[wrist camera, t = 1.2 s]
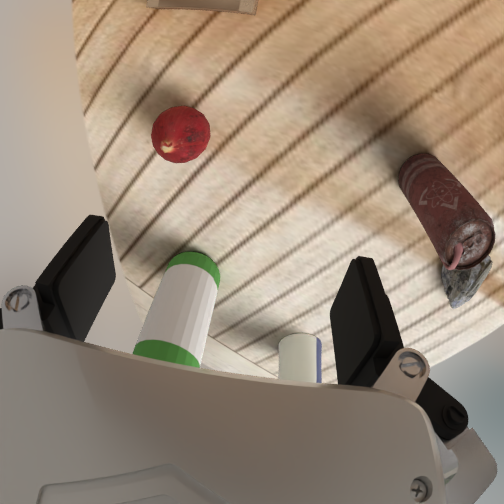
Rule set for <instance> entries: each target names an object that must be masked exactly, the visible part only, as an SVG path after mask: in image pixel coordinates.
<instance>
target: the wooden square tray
mask: <svg viewBox="0 0 504 504" xmlns="http://www.w3.org/2000/svg"><path fill="white" fill-rule="evenodd" d="M257 4H258V0H147V6H146V7H148V8H155V9H191V10H210V11H223V12H233V13H242V14H250V15H255V14H256V9H257Z"/></svg>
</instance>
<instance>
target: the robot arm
mask: <svg viewBox="0 0 504 504" xmlns="http://www.w3.org/2000/svg"><path fill="white" fill-rule="evenodd" d="M115 277H116V273H115V267H114V261H113V254H112V248H111V240H110V233H109V225H108V222H107V221H105V219H104V217H102V216H95V215H89V216H88V217H87V218H86V219H85V220H84V221H83V222H82V224H81V225H80V226H79V227H78V228H77V229H76V231H75V232H74V233H73V234H72V236H71V237H70V238H69V239H68V240H67V242H66V243H65V244H64V245H63V247H62V248H61V249H60V250H59V252H58V253H57V254H56V256H55V257H54V258H53V259H52V261H51V262H50V263H49V265H48V266H47V267H46V269H45V270H44V271H43V273H42V274H41V275H40V277H39V278H38V279H37V281H36V282H35V283H36V284H35V286H34V287H33V288H31V287H29V286H23V285H22V286H17V287H15V288H13V289H11V290H10V291H9V292H7V294H6V295H5V296H4V298H3V300H2V308H0V504H474V503H475V502H476V501H477V500H478V499H479V497H480V496H481V495H482V494H483V493H484V491H485V490H486V489H487V488H488V487H489V485H490V484H491V483H492V482H493V481H494V479H495V477H496V475H497V463H496V461H495V459H494V458H493V456H492V455H491V453H490V452H489V450H488V449H487V447H486V446H485V445H484V443H483V442H482V440H481V439H480V438H479V436H478V435H477V433H476V432H475V430H474V429H473V428H471V429H469V428H468V427H467V425H468V415H467V411H466V410H465V408H464V407H463V406H462V404H460V403H459V402H458V401H457V400H456V399H454V398H453V397H452V396H451V395H450V394H448V393H447V392H446V391H445V390H443V389H442V388H441V387H440V386H439V385H437V384H436V383H435V382H434V381H432V380H431V379H430V378H429V377H428V376H429V372H430V368H429V364H428V361H427V360H426V358H425V357H424V356H423V355H422V354H421V353H420V352H419V351H417V350H415V349H412V348H404V346H403V343H402V339H401V336H400V332H399V329H398V326H397V322H396V319H395V316H394V313H393V310H392V307H391V304H390V301H389V298H388V296H387V295H386V294H385V291H384V288H383V286H382V283H381V280H380V277H379V274H378V271H377V268H376V265H375V263H374V260H373V259H372V258H367V257H361V256H358V257H357V258H356V259H352V261H351V263H350V265H349V267H348V270H347V272H346V275H345V277H344V279H343V282H342V284H341V287H340V289H339V291H338V293H337V296H336V298H335V300H334V303H333V305H332V307H331V310H330V321H331V329H332V336H333V344H334V352H335V361H336V370H337V379H338V384H327V383H315V382H304V381H293V380H283V379H274V378H265V377H257V376H250V375H242V374H235V373H228V372H222V371H215V370H209V369H203V368H198V367H192V366H187V365H181V364H176V363H171V362H166V361H161V360H156V359H152V358H147V357H143V356H138V355H134V354H129V353H125V352H121V351H117V350H113V349H109V348H105V347H101V346H97V345H94V344H90V343H86V342H84V341H85V338H86V336H87V334H88V332H89V330H90V328H91V326H92V324H93V322H94V320H95V318H96V316H97V314H98V312H99V310H100V308H101V306H102V304H103V302H104V300H105V299H106V297H107V295H108V293H109V291H110V289H111V287H112V285H113V284H114V282H115Z"/></svg>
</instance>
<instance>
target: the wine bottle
mask: <svg viewBox="0 0 504 504" xmlns="http://www.w3.org/2000/svg"><path fill="white" fill-rule="evenodd" d="M219 282H220V273H219V269H218V267H217V265H216V264H215V263H214V262H213V261H212V260H211V259H210V258H209V257H207V256H205V255H203V254H201V253H197V252H183V253H180V254H178V255H176V256H175V257H174V258H173V259H172V260H171V261H170V262H169V264H168V267H167V269H166V271H165V273H164V276H163V278H162V280H161V283H160V285H159V287H158V290H157V292H156V295H155V297H154V300H153V302H152V304H151V307H150V309H149V312H148V314H147V317H146V320H145V322H144V325H143V327H142V330H141V332H140V335H139V338H138V340H137V343H136V346H135V349H134V351H133V354H134V355H138V356H143V357H147V358H152V359H156V360H161V361H166V362H171V363H176V364H181V365H187V366H192V367H198V368H200V365H201V360H202V356H203V352H204V347H205V343H206V339H207V334H208V330H209V326H210V321H211V317H212V313H213V309H214V305H215V300H216V296H217V291H218V287H219Z"/></svg>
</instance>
